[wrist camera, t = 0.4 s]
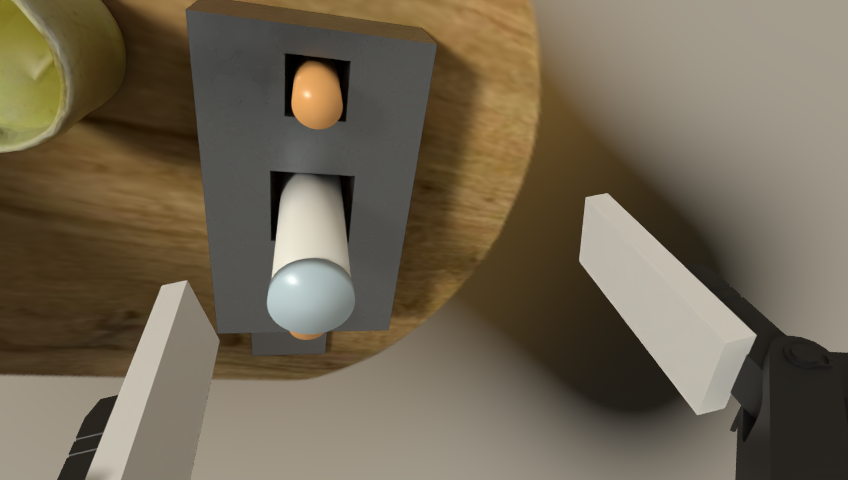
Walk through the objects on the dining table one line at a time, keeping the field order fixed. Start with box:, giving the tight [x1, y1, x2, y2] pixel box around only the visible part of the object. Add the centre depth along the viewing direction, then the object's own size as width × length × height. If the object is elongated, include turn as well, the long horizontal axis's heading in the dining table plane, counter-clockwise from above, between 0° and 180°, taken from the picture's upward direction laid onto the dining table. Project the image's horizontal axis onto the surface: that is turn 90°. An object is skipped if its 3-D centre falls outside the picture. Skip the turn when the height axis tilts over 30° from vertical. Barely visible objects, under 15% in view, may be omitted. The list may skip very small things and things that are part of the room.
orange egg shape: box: [292, 56, 343, 129], centre depth 29 cm, size 3×3×6 cm
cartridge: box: [267, 172, 355, 334], centre depth 31 cm, size 5×5×15 cm
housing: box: [186, 0, 437, 333], centre depth 35 cm, size 14×24×5 cm, turn 171°
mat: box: [251, 332, 327, 356], centre depth 45 cm, size 7×7×1 cm
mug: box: [0, 0, 127, 153], centre depth 25 cm, size 12×10×10 cm
